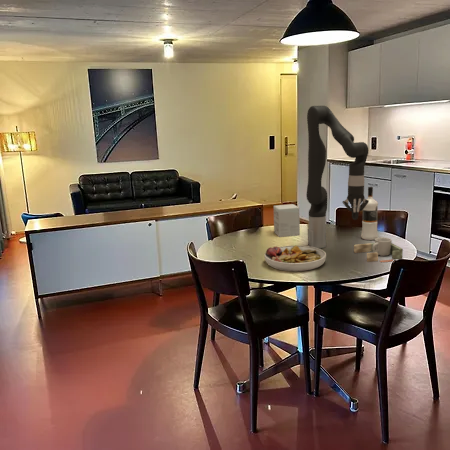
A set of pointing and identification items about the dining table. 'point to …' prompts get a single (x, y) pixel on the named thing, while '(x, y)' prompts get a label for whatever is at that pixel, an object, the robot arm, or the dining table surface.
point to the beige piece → (372, 257)
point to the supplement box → (286, 220)
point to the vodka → (370, 218)
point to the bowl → (295, 258)
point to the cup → (382, 246)
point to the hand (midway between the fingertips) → (355, 219)
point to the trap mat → (386, 260)
